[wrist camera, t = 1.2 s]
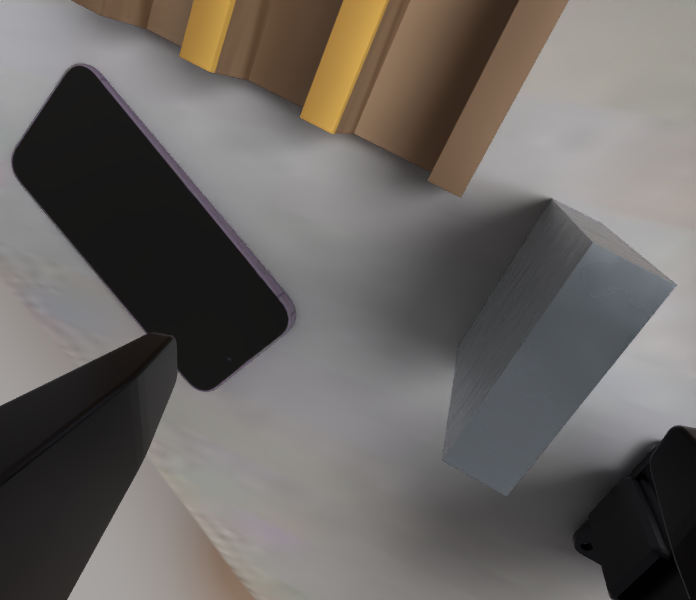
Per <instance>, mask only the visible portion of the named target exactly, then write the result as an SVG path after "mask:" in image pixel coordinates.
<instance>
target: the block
mask: <svg viewBox="0 0 696 600" xmlns="http://www.w3.org/2000/svg"><path fill="white" fill-rule="evenodd" d="M676 286H677V285H676V284H675V283H674V282H673V281H672V280H670V279H669V278H668V277H667V276H665V275H664V274H663V273H662V272H661V271H659V270H658V269H657V268H656V267H654V266H653V265H652V264H651V263H650V262H648V261H647V260H646V259H645V258H643V257H642V256H641V255H640V254H639V253H637V252H636V251H635V250H634V249H632V248H631V247H630V246H629V245H628V244H626V243H625V242H624V241H623V240H622V239H620V238H619V237H618V236H617V235H615V234H614V233H613V232H612V231H611V230H609V229H608V228H607V227H606V226H604V225H603V224H602V223H600V222H598V221H596V220H594V219H592V218H590V217H588V216H586V215H584V214H582V213H580V212H578V211H576V210H574V209H572V208H570V207H568V206H566V205H564V204H562V203H560V202H558V201H556V200H554V199H552V198H551V200H550V202H549V203H548V205H547V206H546V208H545V209H544V211H543V213H542V214H541V216H540V217H539V219H538V221H537V222H536V224H535V225H534V227H533V229H532V230H531V232H530V233H529V235H528V237H527V238H526V240H525V241H524V243H523V244H522V246H521V248H520V249H519V251H518V252H517V254H516V256H515V257H514V259H513V260H512V262H511V264H510V265H509V267H508V268H507V270H506V272H505V273H504V275H503V276H502V278H501V279H500V281H499V283H498V284H497V286H496V287H495V289H494V291H493V292H492V294H491V295H490V297H489V299H488V300H487V302H486V303H485V305H484V307H483V308H482V310H481V311H480V313H479V314H478V316H477V318H476V319H475V321H474V322H473V324H472V326H471V327H470V329H469V330H468V332H467V334H466V335H465V337H464V338H463V340H462V342H461V343H460V345H459V346H458V353H457V360H456V367H455V374H454V381H453V388H452V395H451V401H450V408H449V415H448V422H447V429H446V436H445V443H444V450H443V457H442V461H444V462H446V463H447V464H449V465H451V466H453V467H455V468H456V469H458V470H460V471H462V472H463V473H465V474H467V475H469V476H471V477H472V478H474V479H476V480H478V481H479V482H481V483H483V484H485V485H487V486H488V487H490V488H492V489H494V490H495V491H497V492H499V493H501V494H502V495H504V496H506V497H507V496H508V495H509V493H510V492H511V491H512V490H513V488H514V487H515V486H516V485H517V483H518V482H519V481H520V480H521V478H522V477H523V476H524V475H525V473H526V472H527V471H528V470H529V469H530V467H531V466H532V465H533V464H534V462H535V461H536V460H537V459H538V457H539V456H540V455H541V454H542V452H543V451H544V450H545V449H546V447H547V446H548V445H549V444H550V442H551V441H552V440H553V439H554V437H555V436H556V435H557V434H558V432H559V431H560V430H561V429H562V427H563V426H564V425H565V424H566V422H567V421H568V420H569V419H570V417H571V416H572V415H573V414H574V413H575V411H576V410H577V409H578V408H579V406H580V405H581V404H582V403H583V401H584V400H585V399H586V398H587V396H588V395H589V394H590V393H591V391H592V390H593V389H594V388H595V386H596V385H597V384H598V383H599V381H600V380H601V379H602V378H603V376H604V375H605V374H606V373H607V371H608V370H609V369H610V368H611V366H612V365H613V364H614V363H615V361H616V360H617V359H618V358H619V356H620V355H621V354H622V353H623V352H624V350H625V349H626V348H627V347H628V345H629V344H630V343H631V342H632V340H633V339H634V338H635V337H636V335H637V334H638V333H639V332H640V330H641V329H642V328H643V327H644V325H645V324H646V323H647V322H648V320H649V319H650V318H651V317H652V315H653V314H654V313H655V312H656V310H657V309H658V308H659V307H660V305H661V304H662V303H663V302H664V300H665V299H666V298H667V297H668V296H669V294H670V293H671V292H672V291H673V289H674V288H675V287H676Z"/></svg>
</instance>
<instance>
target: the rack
mask: <svg viewBox="0 0 696 600" xmlns="http://www.w3.org/2000/svg"><path fill="white" fill-rule="evenodd" d="M71 1H73V2H75V3H77V4H79V5H81V6H83V7H85V8H87V9H89V10H91V11H93V12H95V13H97V14H99V15H102V16H105V17H108V18H112V19H115V20H118V21H122V22H125V23H128V24H132V25H135V26H139V27H142V28H145V29H148V30H150V31H152V32H154V33H156V34H158V35H160V36H162V37H164V38H166V39H168V40H170V41H172V42H174V43H176V44H177V45H179V46H181V51H180V55H179V57H181V58H183V59H185V60H187V61H189V62H191V63H193V64H195V65H197V66H199V67H201V68H203V69H205V70H207V71H209V72H212V73H217V74H222V75H226V76H231V77H236V78H241V79H245V80H249V81H251V82H253V83H255V84H257V85H259V86H261V87H263V88H265V89H267V90H269V91H271V92H273V93H275V94H277V95H279V96H281V97H283V98H284V99H286V100H288V101H290V102H292V103H294V104H296V105H298V106H300V107H302V108H303V109H302V112H301V115H300V118H302V119H304V120H306V121H308V122H309V123H311V124H313V125H315V126H317V127H319V128H321V129H323V130H325V131H327V132H329V133H331V134H352V133H354V134H356V135H358V136H360V137H362V138H364V139H366V140H368V141H370V142H372V143H374V144H376V145H378V146H380V147H382V148H384V149H386V150H388V151H390V152H391V153H393V154H395V155H397V156H399V157H401V158H403V159H405V160H407V161H409V162H411V163H413V164H415V165H417V166H419V167H421V168H423V169H425V170H427V171H429V172H431V174H430V176H429V178H428V180H427V181H429V182H431V183H433V184H435V185H437V186H439V187H441V188H442V189H444V190H446V191H448V192H450V193H452V194H454V195H456V196H458V197H460V198H461V197H462V195H463V193H464V191H465V189H466V187H467V186H468V184H469V182H470V180H471V178H472V176H473V175H474V173H475V171H476V169H477V167H478V165H479V164H480V162H481V160H482V158H483V156H484V154H485V153H486V151H487V149H488V147H489V145H490V144H491V142H492V140H493V138H494V136H495V134H496V133H497V131H498V129H499V127H500V125H501V123H502V122H503V120H504V118H505V116H506V114H507V112H508V111H509V109H510V107H511V105H512V103H513V101H514V100H515V98H516V96H517V94H518V92H519V90H520V89H521V87H522V85H523V83H524V81H525V80H526V78H527V76H528V74H529V72H530V70H531V69H532V67H533V65H534V63H535V61H536V59H537V58H538V56H539V54H540V52H541V50H542V48H543V47H544V45H545V43H546V41H547V39H548V37H549V36H550V34H551V32H552V30H553V28H554V26H555V25H556V23H557V21H558V19H559V17H560V16H561V14H562V12H563V10H564V8H565V6H566V5H567V3H568V1H569V0H71Z"/></svg>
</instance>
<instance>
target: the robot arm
mask: <svg viewBox="0 0 696 600" xmlns="http://www.w3.org/2000/svg"><path fill="white" fill-rule="evenodd" d="M176 378H177V344H176V340H175V338H174V337H173V336H172V335H167V334H161V333H156V332H151V333H148V334H146V335H144V336H142V337H140V338H138V339H136V340H134V341H132V342H130V343H128V344H126V345H124V346H122V347H120V348H118V349H116V350H114V351H112V352H109V353H107V354H105V355H103V356H101V357H99V358H97V359H95V360H93V361H91V362H89V363H87V364H85V365H83V366H81V367H79V368H77V369H75V370H73V371H71V372H69V373H67V374H65V375H63V376H61V377H59V378H56V379H55V380H52V381H51V382H48V383H46V384H44V385H42V386H40V387H38V388H36V389H34V390H32V391H30V392H28V393H26V394H24V395H22V396H20V397H18V398H16V399H14V400H12V401H10V402H8V403H5V404H3V405H1V406H0V600H67V599H68V597H69V595H70V593H71V592H72V590H73V588H74V586H75V584H76V582H77V581H78V579H79V577H80V575H81V573H82V572H83V570H84V568H85V566H86V564H87V562H88V561H89V559H90V557H91V555H92V553H93V552H94V550H95V548H96V546H97V544H98V543H99V541H100V539H101V537H102V535H103V533H104V531H105V530H106V528H107V526H108V524H109V523H110V521H111V519H112V517H113V515H114V513H115V511H116V510H117V508H118V506H119V504H120V503H121V501H122V499H123V497H124V495H125V493H126V492H127V490H128V488H129V486H130V484H131V483H132V481H133V479H134V477H135V475H136V473H137V472H138V470H139V468H140V466H141V464H142V462H143V460H144V458H145V456H146V453H147V451H148V449H149V447H150V444H151V442H152V439H153V437H154V434H155V432H156V429H157V427H158V425H159V422H160V420H161V417H162V415H163V412H164V410H165V407H166V405H167V403H168V400H169V398H170V395H171V393H172V390H173V388H174V385H175V382H176ZM573 542H574V547H575V549H576V550H577V551H578V552H579V553H581V554H582V555H584V556H586V557H588V558H589V559H591V560H593V561H595V562H596V563H598V564H600V565H601V567H602V570H603V574H604V578H605V582H606V586H607V590H608V593H609V596H610V598H611V599H612V600H696V428H692V427H686V426H681V425H678V426H674V427H672V428H670V430H669V431H668V432H667V434H666V435H665V437H664V438H663V439H662V441H661V442H660V444H659V445H658V446H656V447H655V448H654V449H653V450H652V451H651V452H650V453H649V454H648V455H647V456H646V457H645V459H644V460H643V461H642V462H641V463H640V464H639V465H638V466H637V467H636V468H635V469H634V470H633V471H632V473H631V474H630V475H629V476H628V477H625V478H623V479H622V480H621V481H620V482H619V483H618V484H617V485H616V486H615V487H614V488H613V489H612V490H611V491H610V492H609V494H608V495H607V496H606V497H605V498H604V499H603V500H602V501H601V502H600V503H599V504H598V505H597V507H596V508H595V509H594V510H593V511H592V512H591V513H590V514H589V519H588V520H587V521H586V522H585V523H584V524H583V525H582V526H581V527H580V529H579V530H578V531H577V532H576V533H575V534H574V536H573ZM582 542H590V543H588V544H583V543H582Z"/></svg>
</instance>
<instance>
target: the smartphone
mask: <svg viewBox="0 0 696 600" xmlns="http://www.w3.org/2000/svg"><path fill="white" fill-rule="evenodd" d="M11 162H12V169H13V172H14V174H15V176H16V178H17V179H18V181H19V182H20V183H21V185H22V186H23V187H24V188H25V190H26V191H27V192H28V193H29V194H30V196H31V197H32V198H33V199H34V200H35V202H36V203H37V204H38V205H39V206H40V207H41V209H42V210H43V211H44V212H45V213H46V215H47V216H48V217H49V218H50V219H51V221H52V222H53V223H54V224H55V225H56V227H57V228H58V229H59V230H60V231H61V232H62V234H63V235H64V236H65V237H66V238H67V240H68V241H69V242H70V243H71V244H72V246H73V247H74V248H75V249H76V250H77V251H78V253H79V254H80V255H81V256H82V257H83V259H84V260H85V261H86V262H87V263H88V265H89V266H90V267H91V268H92V269H93V271H94V272H95V273H96V274H97V275H98V276H99V278H100V279H101V280H102V281H103V282H104V284H105V285H106V286H107V287H108V288H109V290H110V291H111V292H112V293H113V294H114V295H115V297H116V298H117V299H118V300H119V301H120V303H121V304H122V305H123V306H124V307H125V309H126V310H127V311H128V312H129V313H130V315H131V316H132V317H133V318H134V319H135V320H136V322H137V323H138V324H139V325H140V326H141V328H142V329H143V330H144V331H145V332H146V334H148V333H151V332H156V333H161V334H167V335H172V336H173V337H174V338H175V340H176V344H177V370H178V372H179V373H180V374H181V375H182V376H183V378H184V379H185V380H186V381H187V382H188V383H189V384H190V385H191V386H192V387H193V388H195V389H196V390H199V391H202V392H210V391H213V390H215V389H216V388H218V387H219V386H220V385H222V384H223V383H224V382H225V381H227V380H228V379H229V378H230V377H232V376H233V375H234V374H236V373H237V372H238V371H239V370H241V369H242V368H243V367H244V366H246V365H247V364H248V363H249V362H251V361H252V360H253V359H254V358H256V357H257V356H258V355H260V354H261V353H262V352H263V351H265V350H266V349H267V348H268V347H270V346H271V345H272V344H273V343H275V342H276V341H277V340H279V339H280V338H281V337H282V336H283V335H285V334H286V333H287V332H288V331H289V330H290V329H291V328H292V327H293V325H294V323H295V320H296V310H295V307H294V304H293V302H292V301H291V299H290V298H289V296H288V295H287V294H286V293H285V292H284V290H283V289H282V288H281V287H280V285H279V284H278V283H277V282H276V281H275V279H274V278H273V277H272V276H271V274H270V273H269V272H268V271H267V270H266V268H265V267H264V266H263V265H262V264H261V262H260V261H259V260H258V259H257V258H256V256H255V255H254V254H253V253H252V252H251V250H250V249H249V248H248V247H247V246H246V244H245V243H244V242H243V241H242V240H241V239H240V237H239V236H238V235H237V234H236V233H235V231H234V230H233V229H232V228H231V227H230V226H229V224H228V223H227V222H226V221H225V220H224V218H223V217H222V216H221V215H220V214H219V212H218V211H217V210H216V209H215V208H214V207H213V205H212V204H211V203H210V202H209V201H208V199H207V198H206V197H205V196H204V195H203V194H202V192H201V191H200V190H199V189H198V188H197V186H196V185H195V184H194V183H193V182H192V181H191V179H190V178H189V177H188V176H187V175H186V173H185V172H184V171H183V170H182V169H181V168H180V166H179V165H178V164H177V163H176V162H175V160H174V159H173V158H172V157H171V156H170V154H169V153H168V152H167V151H166V150H165V148H164V147H163V146H162V145H161V144H160V143H159V141H158V140H157V139H156V138H155V137H154V135H153V134H152V133H151V132H150V131H149V130H148V128H147V127H146V126H145V125H144V124H143V122H142V121H141V120H140V119H139V118H138V117H137V115H136V114H135V113H134V112H133V111H132V109H131V108H130V107H129V106H128V105H127V103H126V102H125V101H124V100H123V99H122V98H121V96H120V95H119V94H118V93H117V92H116V90H115V89H114V88H113V87H112V86H111V85H110V83H109V82H108V81H107V80H106V79H105V77H104V76H103V75H102V74H101V73H100V72H99V71H98V70H97V69H95V68H94V67H92V66H90V65H86V64H75V65H73V66H71V67H70V68H69V69H68V70H67V71H66V72H65V74H64V75H63V77H62V78H61V80H60V81H59V83H58V84H57V86H56V87H55V89H54V90H53V92H52V93H51V95H50V96H49V98H48V99H47V101H46V102H45V104H44V105H43V107H42V108H41V110H40V111H39V113H38V114H37V116H36V117H35V119H34V120H33V122H32V123H31V125H30V126H29V128H28V129H27V131H26V132H25V134H24V135H23V137H22V138H21V140H20V141H19V143H18V144H17V146H16V147H15V149H14V151H13V154H12V159H11Z"/></svg>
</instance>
